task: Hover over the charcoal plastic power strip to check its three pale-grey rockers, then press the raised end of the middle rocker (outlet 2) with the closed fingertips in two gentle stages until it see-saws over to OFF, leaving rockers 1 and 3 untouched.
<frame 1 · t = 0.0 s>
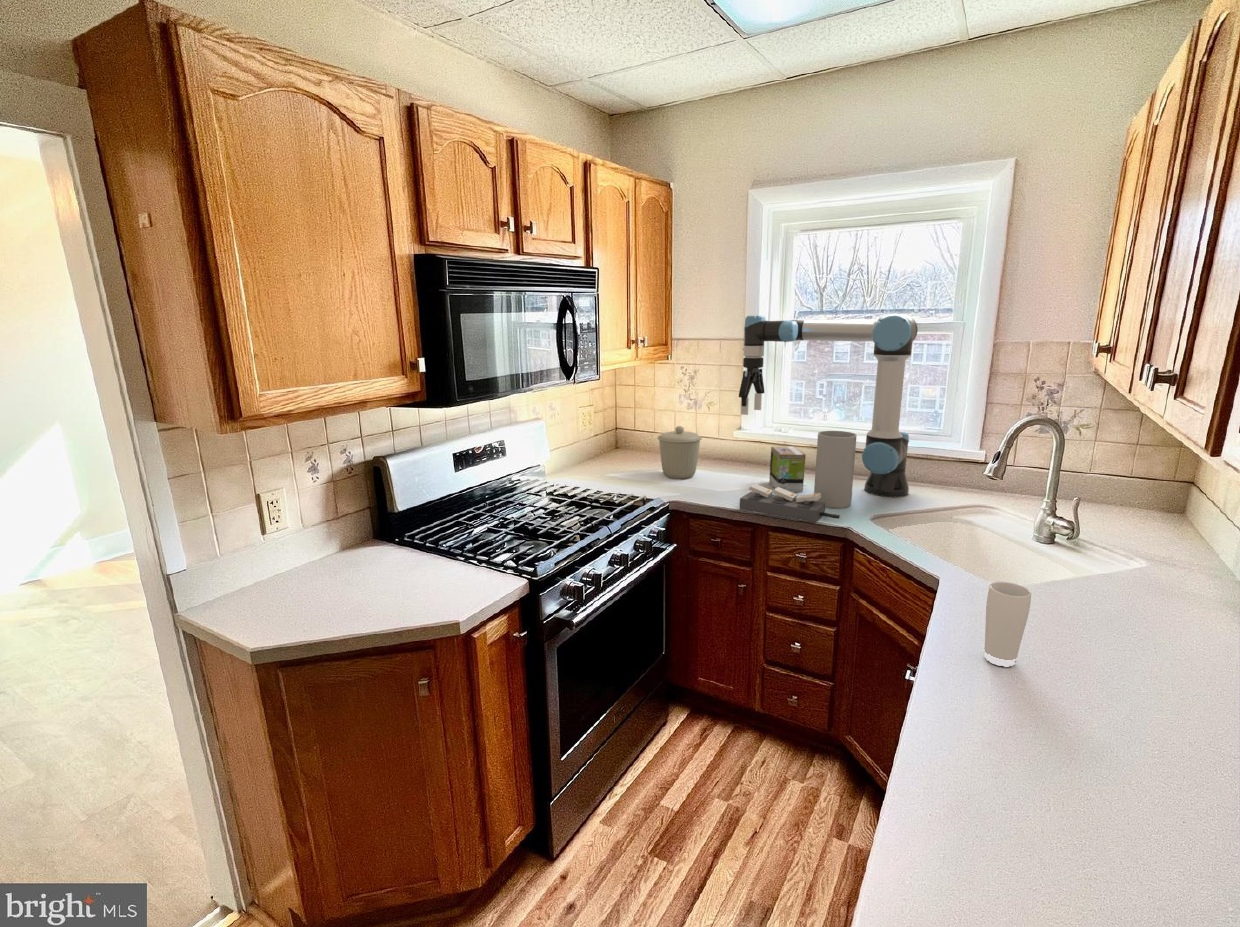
hand: (751, 412, 238), 28 cm above the worktop, fingers open, 13 cm apart
cylinder vase: (831, 504, 215), on the worktop
power strip: (781, 511, 207), on the worktop
drinking glass: (999, 662, 117), on the worktop
rocker 3: (760, 491, 212), point 5 cm above the worktop, hinge at -15.0°
rocker 2: (784, 494, 207), point 5 cm above the worktop, hinge at -15.0°
canister: (679, 476, 254), on the worktop
rocker 1: (808, 498, 203), point 5 cm above the worktop, hinge at 15.0°
tea box: (785, 487, 237), on the worktop
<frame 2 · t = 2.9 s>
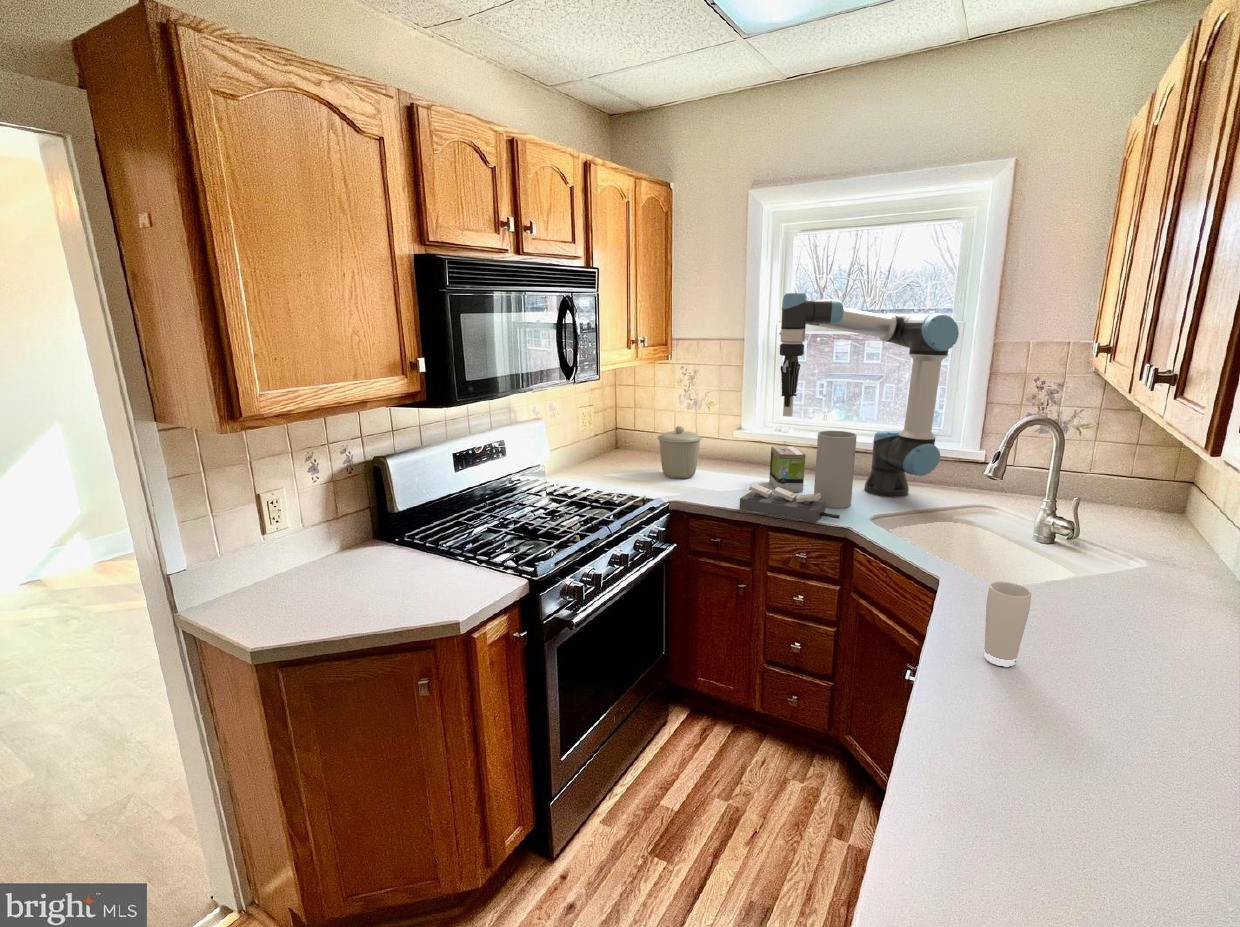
hand: (787, 416, 201), 32 cm above the worktop, fingers closed
nothing on the worktop moved.
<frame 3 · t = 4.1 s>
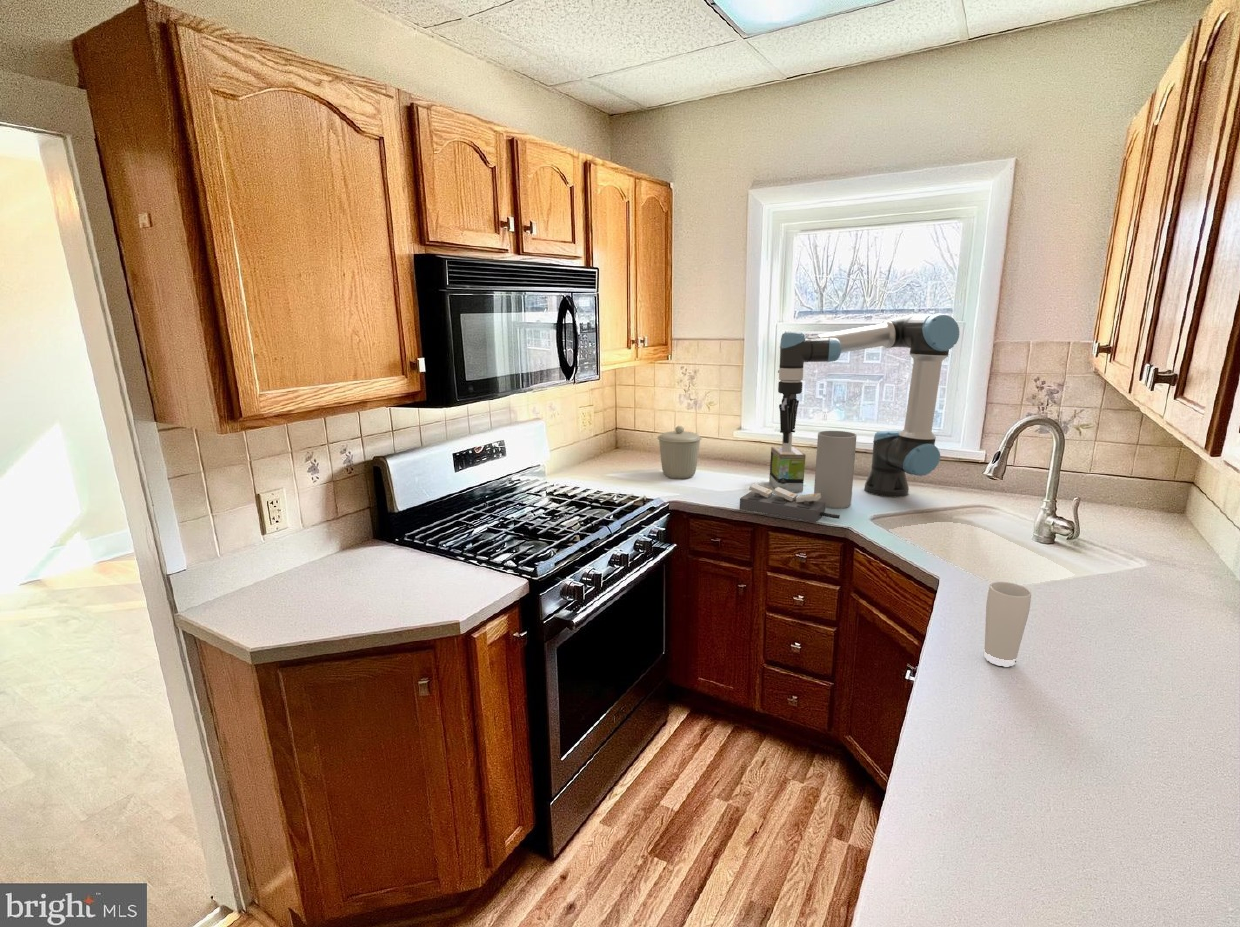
hand: (786, 451, 204), 20 cm above the worktop, fingers closed
nothing on the worktop moved.
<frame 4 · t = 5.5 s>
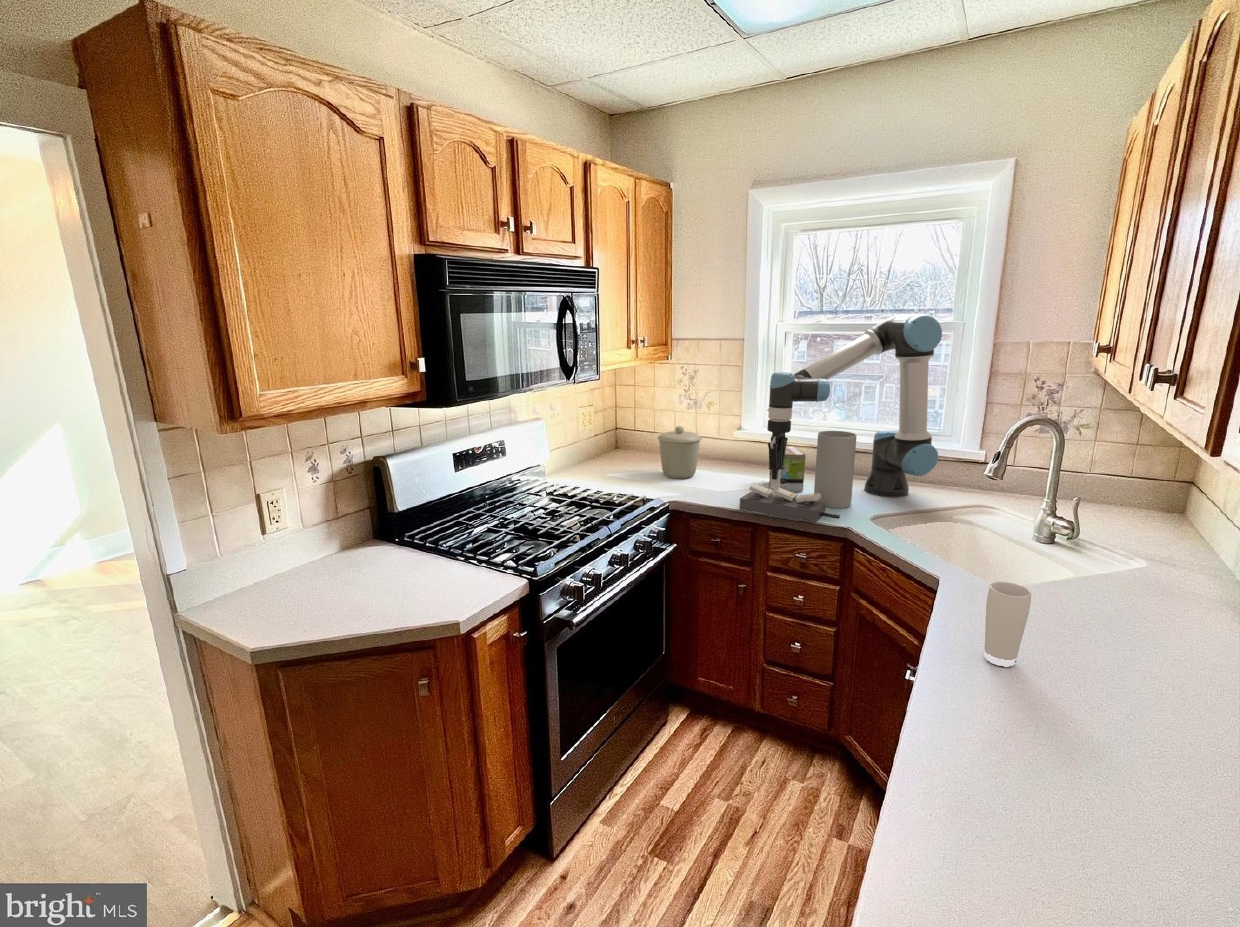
hand: (774, 487, 208), 7 cm above the worktop, fingers closed
rocker 2: (784, 494, 207), point 5 cm above the worktop, hinge at -13.8°, touching gripper
everything else where it was.
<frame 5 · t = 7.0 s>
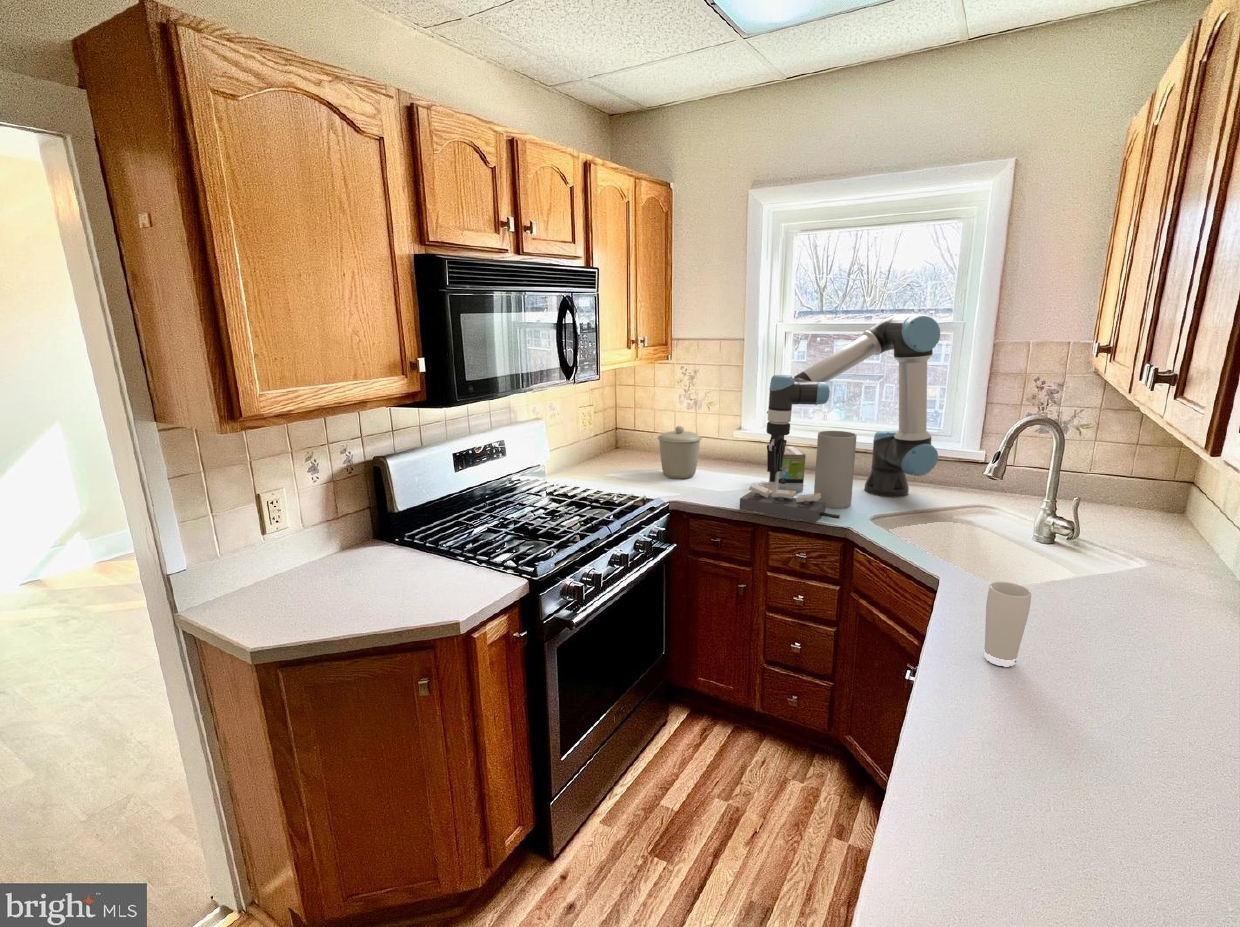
hand: (773, 490, 209), 7 cm above the worktop, fingers closed
rocker 2: (784, 494, 207), point 6 cm above the worktop, hinge at 4.6°, touching gripper
everything else where it was.
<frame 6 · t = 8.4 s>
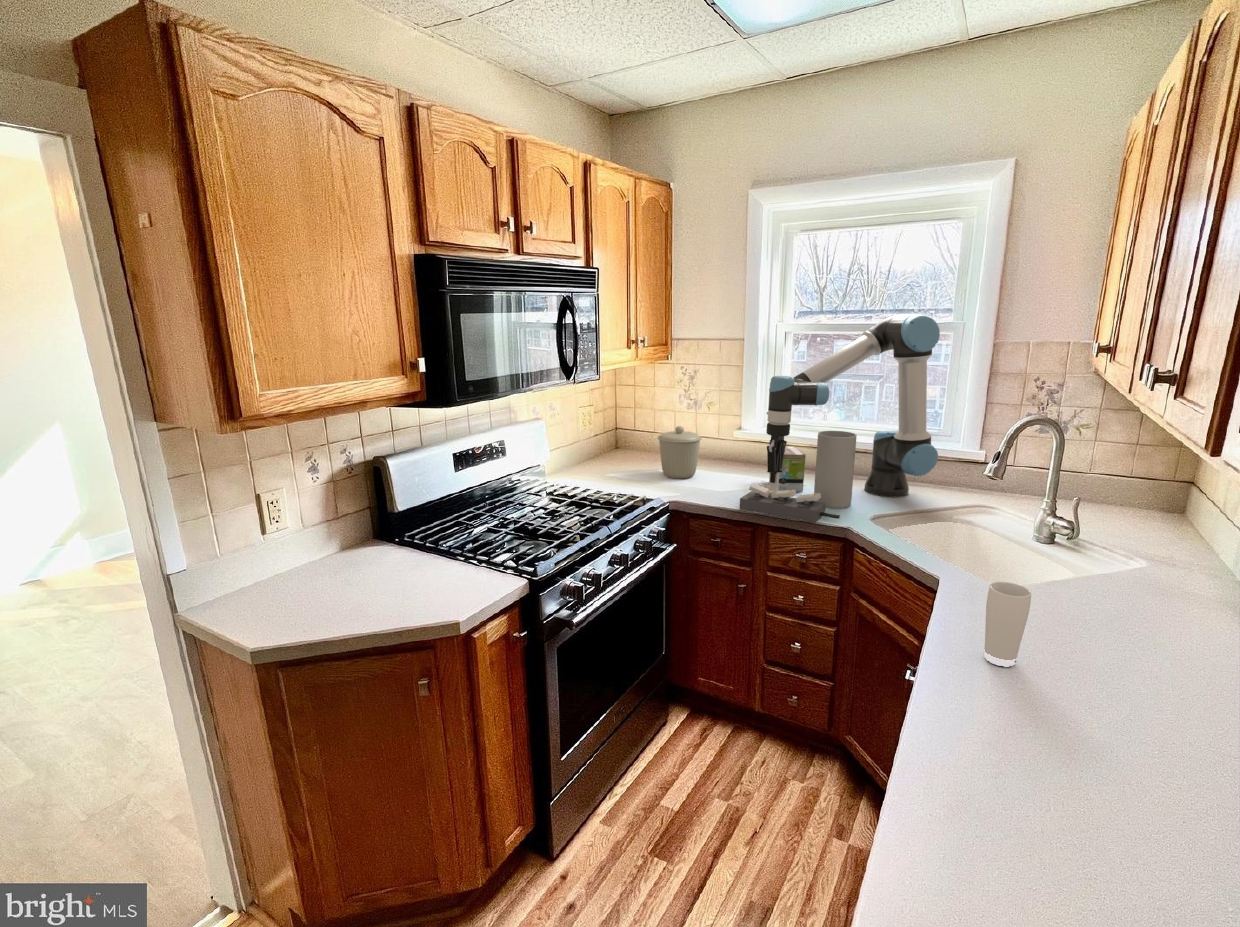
hand: (773, 490, 209), 6 cm above the worktop, fingers closed
rocker 2: (783, 494, 207), point 5 cm above the worktop, hinge at 12.2°, touching gripper
everything else where it was.
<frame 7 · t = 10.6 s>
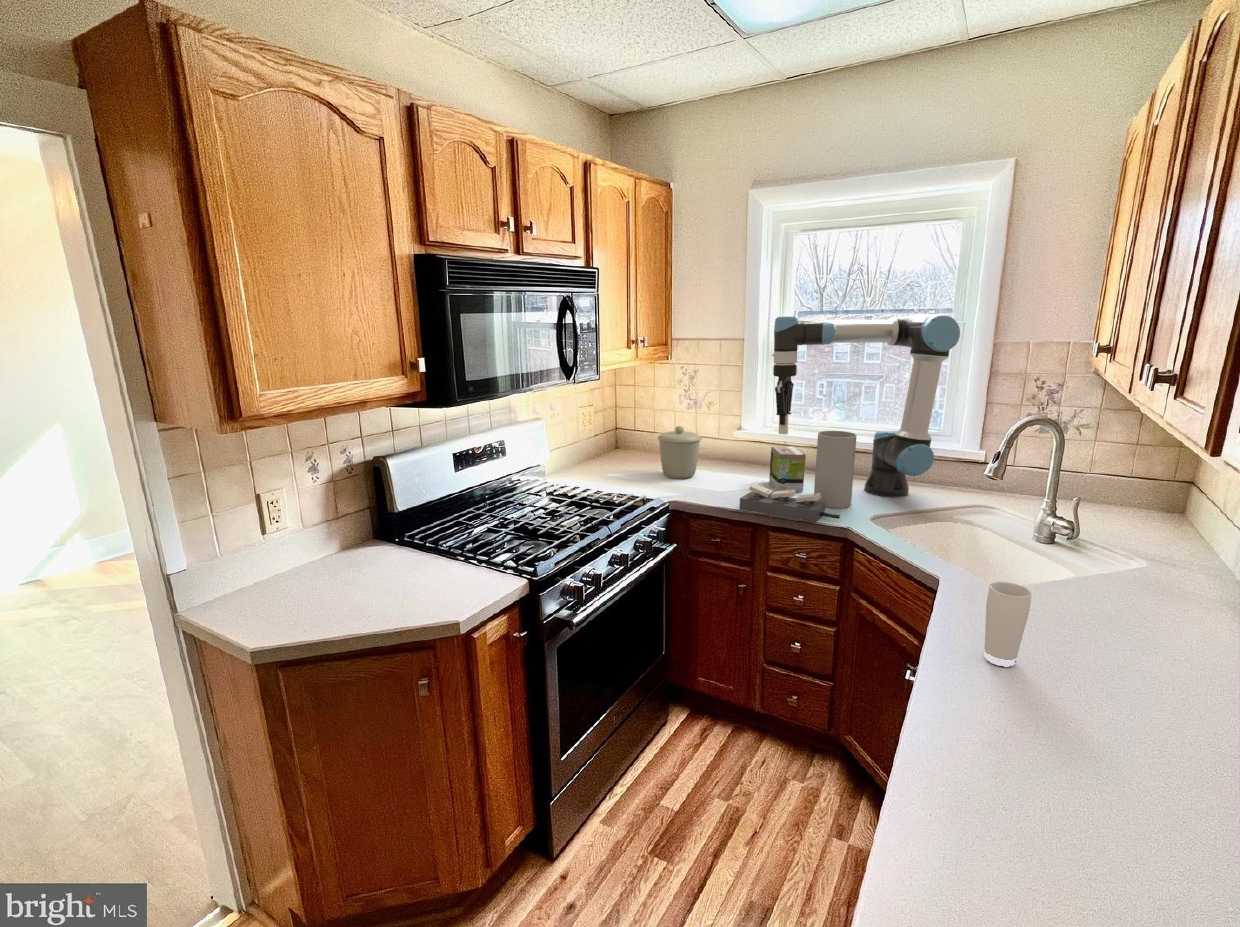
hand: (783, 433, 208), 25 cm above the worktop, fingers closed
rocker 2: (783, 494, 207), point 5 cm above the worktop, hinge at 13.8°
everything else where it was.
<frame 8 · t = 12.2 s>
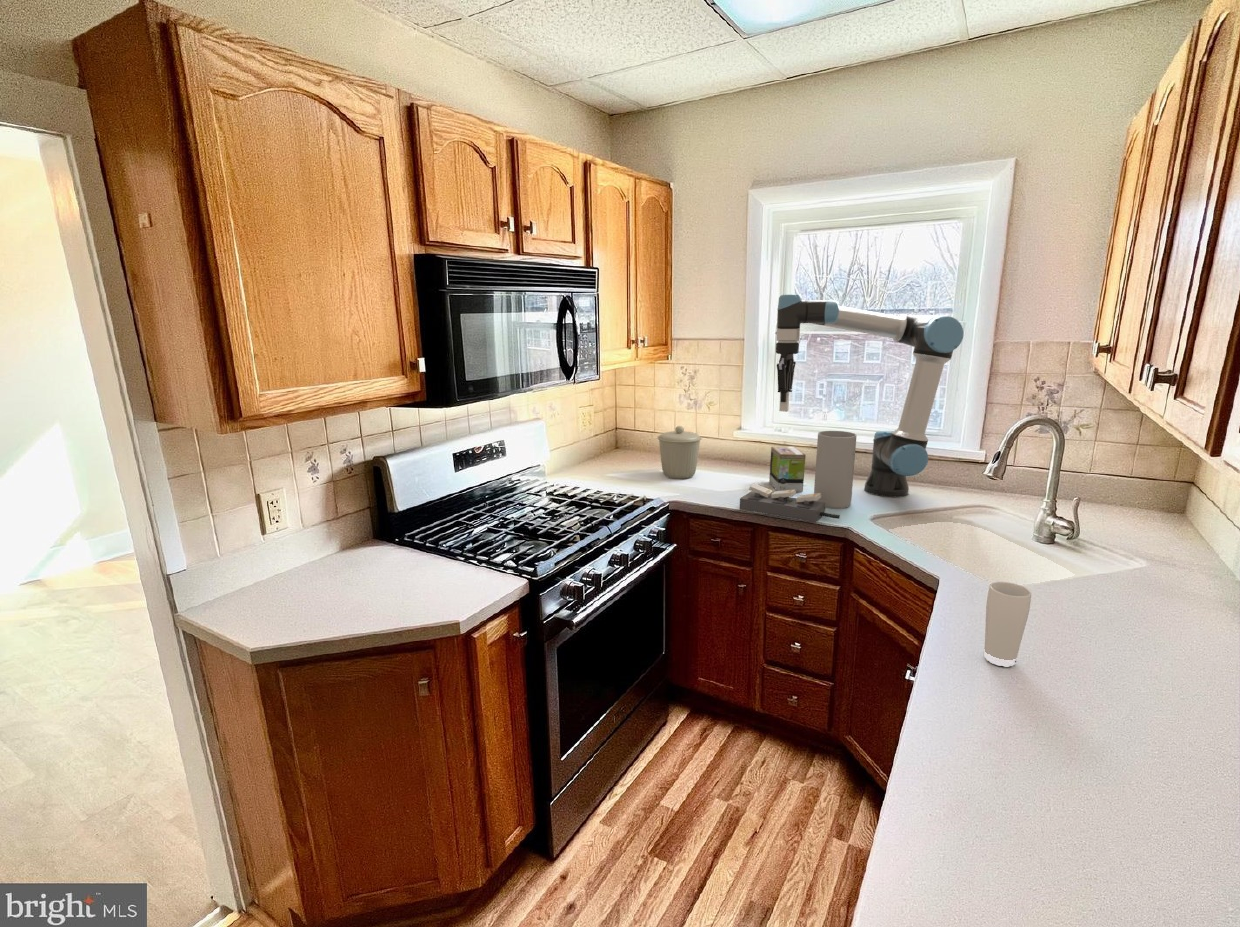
hand: (783, 411, 212), 32 cm above the worktop, fingers closed
nothing on the worktop moved.
at the end: rocker 2 at +14° (first picture: -15°); rocker 1 at +15° (first picture: +15°); rocker 3 at -15° (first picture: -15°) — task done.
